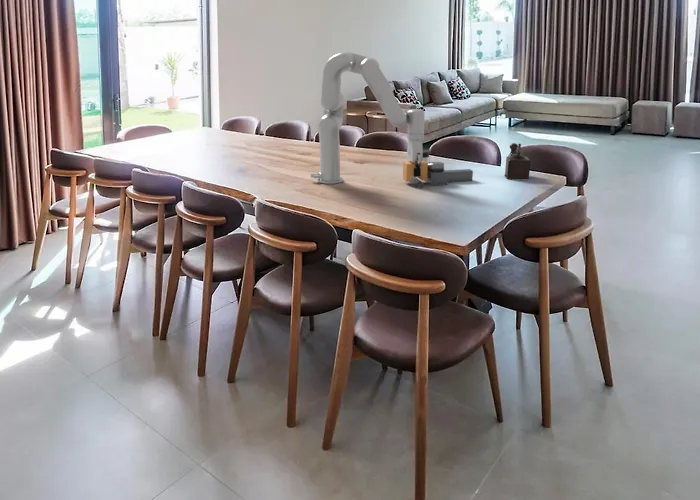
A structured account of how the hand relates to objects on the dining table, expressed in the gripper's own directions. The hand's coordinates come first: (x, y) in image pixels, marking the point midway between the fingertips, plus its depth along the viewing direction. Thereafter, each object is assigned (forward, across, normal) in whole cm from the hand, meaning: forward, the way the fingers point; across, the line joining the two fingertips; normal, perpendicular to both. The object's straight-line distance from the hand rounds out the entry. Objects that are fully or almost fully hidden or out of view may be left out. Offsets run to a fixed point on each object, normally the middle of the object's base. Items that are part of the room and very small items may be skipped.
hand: (414, 174), depth 296 cm
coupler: (+4, 0, +13) cm, 14 cm away
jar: (+4, -16, +8) cm, 19 cm away
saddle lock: (+2, 0, 0) cm, 2 cm away
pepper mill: (+5, +2, +51) cm, 51 cm away
